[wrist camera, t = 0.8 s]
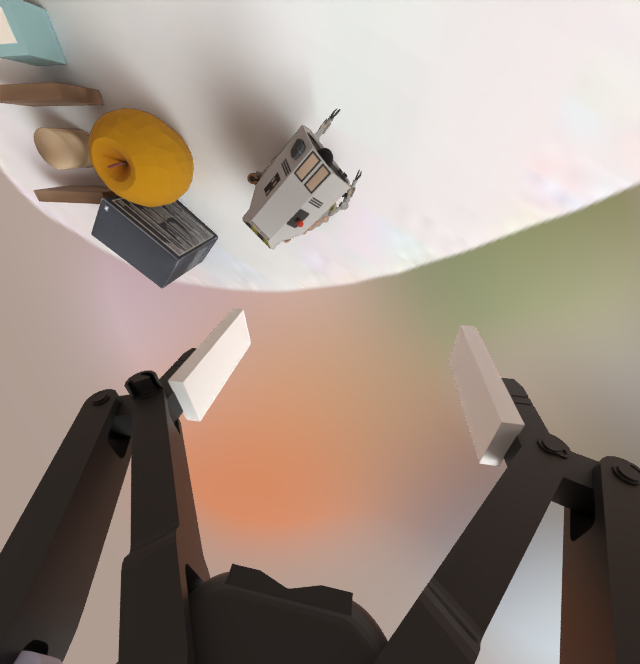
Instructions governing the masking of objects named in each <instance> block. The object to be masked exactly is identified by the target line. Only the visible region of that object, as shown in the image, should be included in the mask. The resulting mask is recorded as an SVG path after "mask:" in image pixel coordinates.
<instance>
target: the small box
mask: <svg viewBox="0 0 640 664" xmlns="http://www.w3.org/2000/svg"><path fill="white" fill-rule="evenodd" d="M91 234H92V235H93V236H94V237H95V238H97V239H98V240H99V241H101V242H102V243H103V244H105V245H106V246H107V247H109V248H110V249H111V250H113V251H114V252H115V253H116V254H118V255H119V256H120V257H122V258H123V259H124V260H126V261H127V262H128V263H129V264H131V265H132V266H133V267H135V268H136V269H137V270H139V271H140V272H141V273H142V274H144V275H145V276H146V277H148V278H149V279H150V280H152V281H153V282H154V283H156V284H157V285H158V286H159V287H161V288H164V287H165V286H167V285H168V284H170V283H171V282H172V281H174V280H175V279H177V278H178V277H180V276H181V275H183V274H184V273H186V272H187V271H189V270H190V269H192V268H193V267H195V266H196V265H197V264H199V263H201V262H202V261H203V260H204V258H205V257H206V255H207V254H208V252H209V251H210V249H211V248H212V246H213V245H214V243H215V242H216V240H217V239H218V236H217V235H216V234H215V233H214V232H212V231H211V230H210V229H209V228H208V227H207V226H206V225H205V224H203V223H202V222H201V221H200V220H199V219H198V218H197V217H196V216H195V215H193V214H192V213H191V212H190V211H189V210H188V209H187V208H186V207H184V206H183V205H182V204H181V203H180V202H179V201H178V200H176V201H175V202H173V203H171V204H167V205H162V206H157V207H146V206H142V205H139V204H135V203H132V202H129V201H128V200H126V199H124V198H122V197H120V196H114V197H109V198H102V199H101V203H100V206H99V210H98V213H97V216H96V219H95V223H94V226H93V230H92V233H91Z"/></svg>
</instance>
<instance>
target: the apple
mask: <svg viewBox="0 0 640 664" xmlns="http://www.w3.org/2000/svg"><path fill="white" fill-rule="evenodd" d="M88 142H89V153H90V161H91V163H92V165H93V167H94V169H95V171H96V172H97V174H98V175H99V177H100V178H101V179H102V180H103V182H104V183H105V184H106V185H107V187H108V188H109V189H110V190H112V191H113V192H114V193H116V194H117V195H118V196H120V197H122V198H124V199H126V200H128V201H129V202H132V203H135V204H139V205H142V206H146V207H157V206H162V205H167V204H171V203H173V202H175V201H176V200H177V199H178V198H180V197H181V196H182V195H183V194H184V193H185V192H186V191H187V190H188V188H189V186H190V184H191V182H192V177H193V169H194V168H193V159H192V155H191V152H190V150H189V148H188V146H187V145H186V143H185V142H184V140H183V139H182V138H181V137H180V136H179V134H177V133H176V132H175V131H173V130H172V129H171V128H170V127H169V126H167V125H166V124H165V123H164V122H163V121H161V120H160V119H158V118H156V117H155V116H153V115H151V114H149V113H146V112H143V111H139V110H135V109H127V108H123V109H119V110H115V111H112V112H109V113H105V114H104V115H102V116H101V117H100V118H99V119H98V120H97V121H96V123H95V124H94V125H93V128H92V130H91V133H90V136H89V140H88Z"/></svg>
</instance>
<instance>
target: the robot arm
mask: <svg viewBox="0 0 640 664" xmlns="http://www.w3.org/2000/svg"><path fill="white" fill-rule="evenodd" d="M250 344H251V342H250V337H249V332H248V328H247V324H246V319H245V314H244V310H242V309H232V310H231V311H230V312H229V313H228V314H227V316H226V317H225V318H224V319H223V320H222V321H221V322H220V323H219V324H218V326H217V327H216V328H215V329H214V330H213V331H212V332H211V333H210V334H209V336H208V337H207V338H206V339H205V340H204V341H203V342H202V343H201V344H200V346H199V347H198V348H192V349H190V350H188V351H187V352H185V353H184V354H183V355H182V356H181V357H180V358H179V359H178V361H176V362H175V363H174V365H173V366H171V368H170V369H169V370H168V371H167V372H166V373H165V374H164V375H163V376H162V377H161V378H160V379H158V377H157V375H156V373H155V372H153V371H143V372H139V373H137V374H135V375H133V376H132V377H130V378H129V379H128V380H127V381H126V383H125V385H124V386H125V388H126V389H127V391H128V392H129V394H130V395H124V396H119V395H118V394H117V393H116V391H115V390H112V389H106V390H103V391H99V392H97V393H95V394H93V395H92V396H91V397H89V398H88V399H87V400H86V401H85V403H84V404H83V406H82V408H81V410H80V412H79V414H78V415H77V417H76V419H75V421H74V423H73V424H72V426H71V428H70V430H69V432H68V433H67V435H66V437H65V439H64V440H63V442H62V444H61V446H60V448H59V450H58V451H57V453H56V455H55V456H54V458H53V460H52V462H51V464H50V465H49V467H48V469H47V471H46V473H45V475H44V476H43V478H42V480H41V482H40V483H39V485H38V487H37V489H36V490H35V492H34V494H33V496H32V498H31V499H30V501H29V503H28V505H27V507H26V508H25V510H24V512H23V514H22V515H21V517H20V519H19V521H18V523H17V525H16V526H15V528H14V530H13V532H12V533H11V535H10V537H9V539H8V541H7V542H6V544H5V546H4V548H3V550H2V552H1V553H0V664H62V662H63V660H64V658H65V656H66V653H67V651H68V649H69V646H70V644H71V642H72V639H73V637H74V635H75V632H76V630H77V627H78V624H79V621H80V618H81V615H82V612H83V609H84V606H85V603H86V600H87V597H88V594H89V590H90V587H91V584H92V580H93V578H94V574H95V571H96V568H97V565H98V561H99V558H100V555H101V552H102V548H103V545H104V542H105V539H106V535H107V532H108V529H109V526H110V523H111V519H112V516H113V513H114V510H115V507H116V503H117V500H118V497H119V494H120V490H121V487H122V484H123V481H124V478H125V474H126V471H127V468H128V465H129V461H130V458H131V455H132V459H131V460H132V462H131V549H130V553H129V554H128V555H127V556H126V557H125V558H124V561H123V563H122V570H121V598H120V600H121V601H120V629H119V661H118V662H117V663H116V664H475V661H476V659H477V656H478V654H479V651H480V643H481V640H482V637H483V635H484V633H485V631H486V629H487V627H488V625H489V623H490V621H491V619H492V617H493V615H494V613H495V611H496V609H497V607H498V605H499V603H500V601H501V599H502V597H503V595H504V593H505V591H506V589H507V587H508V585H509V583H510V581H511V579H512V577H513V575H514V573H515V571H516V569H517V567H518V565H519V563H520V561H521V560H522V558H523V556H524V554H525V551H526V550H527V547H528V546H529V544H530V542H531V540H532V538H533V536H534V534H535V532H536V530H537V528H538V526H539V524H540V522H541V520H542V518H543V516H544V514H545V512H546V510H547V508H548V506H549V504H550V502H551V501H553V502H555V503H558V504H560V505H562V506H564V535H563V568H562V602H561V638H560V664H640V468H638V467H637V466H636V465H634V464H632V463H630V462H628V461H627V460H624V459H621V458H618V457H615V456H606V457H604V458H602V459H601V460H600V461H599V462H598V461H595V460H593V459H590V458H587V457H584V456H582V455H579V454H576V453H574V452H572V451H570V448H569V447H568V446H567V445H566V444H565V443H564V442H563V441H562V440H560V439H559V438H557V437H556V436H554V435H551V434H550V433H549V432H548V430H547V429H546V427H545V425H544V423H543V421H542V420H541V418H540V416H539V414H538V413H537V411H536V409H535V407H534V406H533V404H532V402H531V400H530V399H529V398H528V395H527V394H526V392H525V390H524V388H523V387H522V386H521V385H520V384H519V383H517V382H516V381H515V380H514V379H507V378H501V377H500V375H499V373H498V371H497V369H496V367H495V365H494V363H493V361H492V359H491V357H490V355H489V353H488V351H487V349H486V347H485V345H484V343H483V341H482V339H481V337H480V335H479V333H478V331H477V329H476V327H475V326H469V325H460V328H459V331H458V334H457V338H456V341H455V344H454V347H453V350H452V354H451V357H450V360H449V364H450V367H451V371H452V374H453V377H454V380H455V384H456V387H457V391H458V394H459V397H460V401H461V404H462V407H463V410H464V414H465V417H466V420H467V423H468V427H469V430H470V433H471V437H472V440H473V444H474V447H475V450H476V454H477V457H478V460H479V463H482V464H489V465H495V466H499V465H500V464H501V462H502V461H503V459H505V462H506V464H507V469H506V470H505V472H504V473H503V475H502V476H501V478H500V479H499V481H498V482H497V483H496V485H495V486H494V488H493V489H492V491H491V492H490V494H489V495H488V497H487V498H486V500H485V501H484V503H483V504H482V506H481V507H480V508H479V510H478V511H477V513H476V514H475V516H474V517H473V519H472V520H471V522H470V523H469V524H468V526H467V527H466V529H465V530H464V532H463V533H462V535H461V536H460V538H459V539H458V541H457V542H456V543H455V545H454V546H453V548H452V549H451V551H450V552H449V554H448V555H447V557H446V558H445V560H444V561H443V563H442V564H441V565H440V567H439V568H438V570H437V571H436V573H435V574H434V576H433V578H432V579H431V580H430V582H429V583H428V584H427V586H426V587H425V589H424V590H423V591H422V593H421V594H420V596H419V597H418V599H417V600H416V602H415V603H414V605H413V606H412V608H411V609H410V611H409V612H408V614H407V615H406V616H405V618H404V619H403V621H402V622H401V624H400V625H399V627H398V628H397V630H396V631H395V632H394V634H393V635H392V637H391V638H390V640H389V641H387V639H386V637H385V635H384V634H383V632H382V630H381V629H380V627H379V626H378V624H377V623H376V622H375V620H374V619H373V618H372V617H371V615H370V614H369V613H368V612H367V611H366V610H365V609H363V608H362V607H361V606H360V605H358V604H357V603H356V602H354V601H352V596H353V593H351V592H347V591H343V590H338V589H334V588H330V587H326V586H322V585H321V586H311V587H302V588H293V589H288V588H286V587H284V586H282V585H281V584H279V583H278V582H276V581H275V580H274V579H272V578H271V577H269V576H268V575H266V574H265V573H263V572H262V571H260V570H256V569H252V568H247V567H243V566H239V565H235V564H232V566H231V569H230V572H226V573H222V574H219V575H217V576H214V577H212V578H210V575H209V572H208V568H207V566H206V563H205V560H204V556H203V552H202V546H201V541H200V534H199V529H198V522H197V516H196V510H195V505H194V499H193V493H192V487H191V481H190V475H189V469H188V464H187V458H186V452H185V446H184V440H183V434H182V428H181V423H180V420H179V417H180V415H181V414H182V413H184V415H185V417H186V419H187V420H193V421H201V419H202V418H203V416H204V415H205V413H206V412H207V410H208V409H209V407H210V406H211V404H212V403H213V401H214V399H215V398H216V396H217V395H218V393H219V392H220V390H221V389H222V387H223V386H224V384H225V383H226V381H227V380H228V378H229V376H230V375H231V373H232V372H233V370H234V369H235V367H236V366H237V364H238V363H239V361H240V360H241V358H242V357H243V355H244V354H245V352H246V350H247V349H248V347H249V346H250Z"/></svg>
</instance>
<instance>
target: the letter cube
mask: <svg viewBox="0 0 640 664" xmlns="http://www.w3.org/2000/svg"><path fill="white" fill-rule="evenodd" d="M0 58H4V59H9V60H13V61H18V62H22V63H27V64H31V65H35V66H44V65H64V64H67V63H66V60H65V57H64V55H63V52H62V49H61V47H60V44H59V41H58V39H57V36H56V34H55V31H54V28H53V26H52V23H51V20H50V18H49V15H48V13H47V10H46V9H43V8H41V7H38V6H36V5H33V4H31V3H28V2H26V1H23V0H0Z"/></svg>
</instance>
